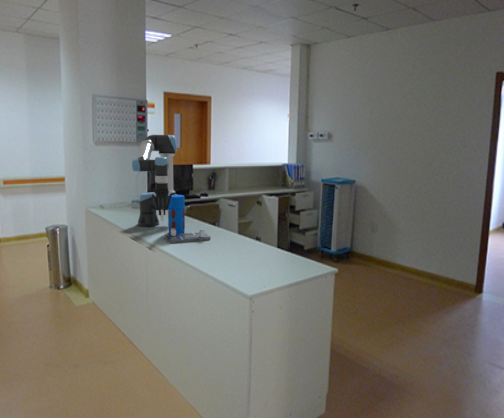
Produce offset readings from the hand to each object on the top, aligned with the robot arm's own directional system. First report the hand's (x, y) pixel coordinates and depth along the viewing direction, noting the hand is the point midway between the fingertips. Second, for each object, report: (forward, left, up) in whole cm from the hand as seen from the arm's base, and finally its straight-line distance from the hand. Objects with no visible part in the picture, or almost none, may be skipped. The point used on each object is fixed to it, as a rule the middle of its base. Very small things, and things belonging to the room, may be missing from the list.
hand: (162, 220), depth 249 cm
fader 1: (0, +7, -10) cm, 13 cm away
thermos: (-16, +13, -13) cm, 24 cm away
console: (+3, +15, -12) cm, 20 cm away
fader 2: (+8, +23, -10) cm, 27 cm away
